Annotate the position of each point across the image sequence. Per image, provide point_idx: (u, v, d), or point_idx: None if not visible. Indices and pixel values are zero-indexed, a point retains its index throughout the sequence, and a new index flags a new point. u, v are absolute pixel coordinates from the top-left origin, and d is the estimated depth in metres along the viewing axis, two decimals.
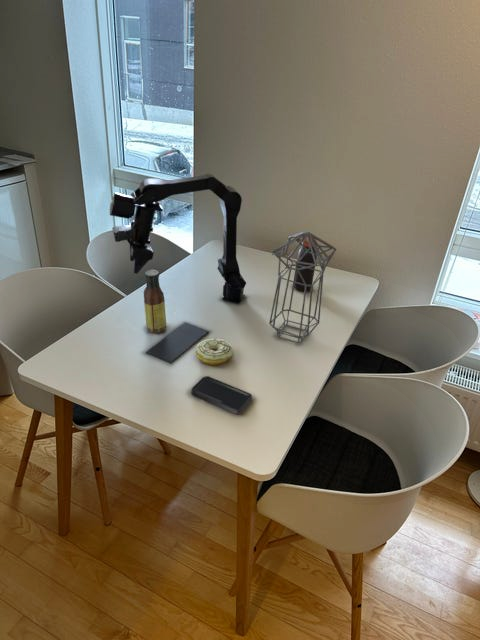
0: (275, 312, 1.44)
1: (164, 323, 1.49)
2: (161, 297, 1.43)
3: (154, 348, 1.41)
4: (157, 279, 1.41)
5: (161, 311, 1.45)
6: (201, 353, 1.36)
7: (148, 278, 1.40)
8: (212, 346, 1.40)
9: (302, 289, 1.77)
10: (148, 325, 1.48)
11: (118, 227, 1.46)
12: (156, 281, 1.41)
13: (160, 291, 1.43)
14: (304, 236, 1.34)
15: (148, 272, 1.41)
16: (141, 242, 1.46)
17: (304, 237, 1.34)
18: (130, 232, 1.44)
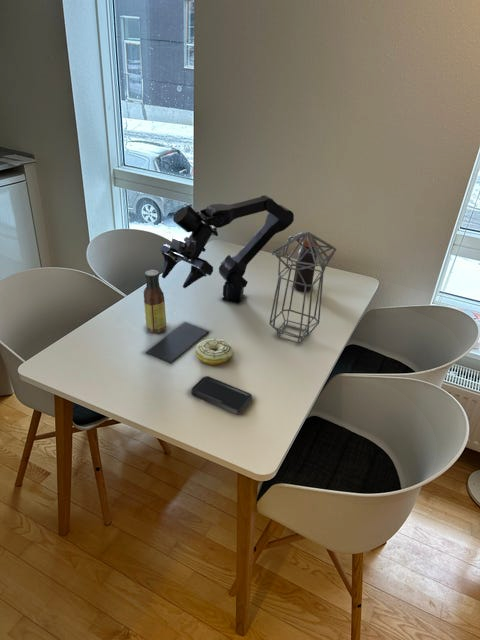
0: (275, 312, 1.44)
1: (164, 323, 1.49)
2: (161, 297, 1.43)
3: (154, 348, 1.41)
4: (157, 279, 1.41)
5: (161, 311, 1.45)
6: (201, 353, 1.36)
7: (148, 278, 1.40)
8: (212, 346, 1.40)
9: (302, 289, 1.77)
10: (148, 325, 1.48)
11: (178, 239, 1.45)
12: (156, 281, 1.41)
13: (160, 291, 1.43)
14: (304, 236, 1.34)
15: (148, 272, 1.41)
16: (195, 259, 1.49)
17: (304, 237, 1.34)
18: None
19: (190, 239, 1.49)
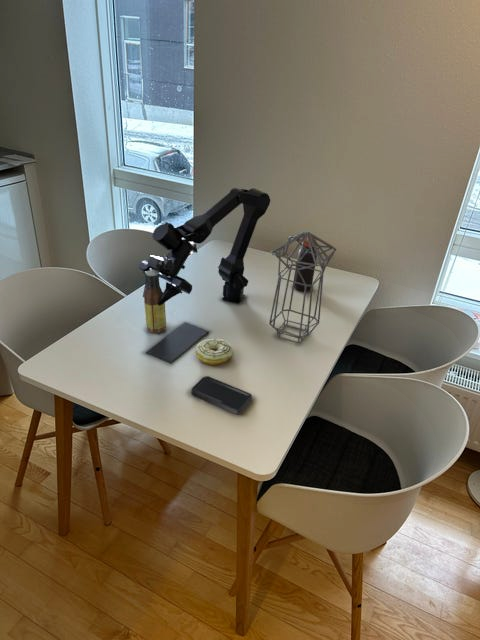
0: (275, 312, 1.44)
1: (164, 323, 1.49)
2: None
3: (154, 348, 1.41)
4: (157, 279, 1.41)
5: (161, 311, 1.45)
6: (201, 353, 1.36)
7: (148, 278, 1.40)
8: (212, 346, 1.40)
9: (302, 289, 1.77)
10: (148, 325, 1.48)
11: (155, 256, 1.41)
12: (156, 281, 1.41)
13: (160, 291, 1.43)
14: (304, 236, 1.34)
15: (148, 272, 1.40)
16: (174, 276, 1.44)
17: (304, 237, 1.34)
18: None
19: (169, 256, 1.44)
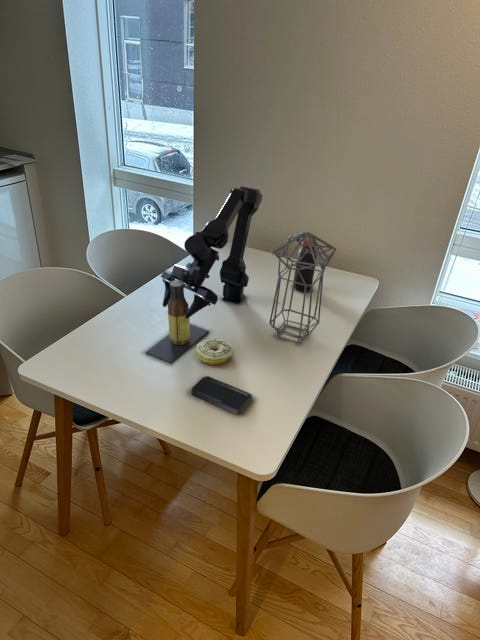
0: (275, 312, 1.44)
1: (188, 335, 1.43)
2: (186, 308, 1.38)
3: (154, 348, 1.41)
4: (182, 290, 1.36)
5: (185, 323, 1.40)
6: (201, 353, 1.36)
7: (173, 289, 1.34)
8: (212, 346, 1.40)
9: (302, 289, 1.77)
10: (172, 337, 1.42)
11: (180, 266, 1.35)
12: (181, 292, 1.35)
13: (185, 302, 1.38)
14: (304, 236, 1.34)
15: (173, 283, 1.35)
16: (198, 286, 1.38)
17: (304, 237, 1.34)
18: None
19: (193, 265, 1.38)
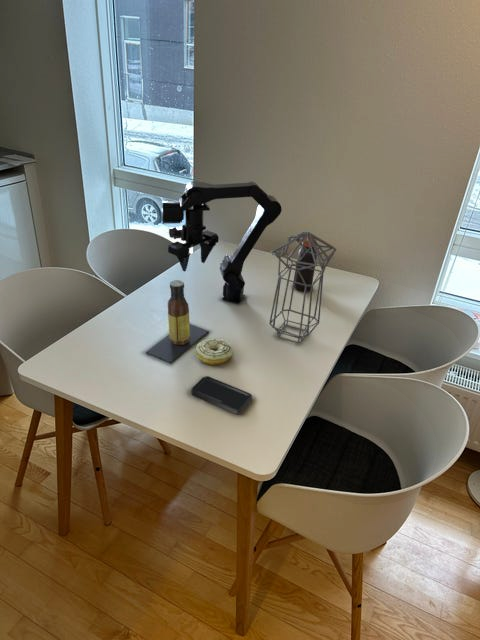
0: (275, 312, 1.44)
1: (188, 335, 1.43)
2: (186, 308, 1.38)
3: (154, 348, 1.41)
4: (182, 290, 1.36)
5: (185, 323, 1.40)
6: (201, 353, 1.36)
7: (173, 289, 1.34)
8: (212, 346, 1.40)
9: (302, 289, 1.77)
10: (172, 337, 1.42)
11: (181, 227, 1.59)
12: (181, 292, 1.35)
13: (185, 302, 1.38)
14: (304, 236, 1.34)
15: (173, 283, 1.35)
16: (188, 242, 1.54)
17: (304, 237, 1.34)
18: (181, 231, 1.55)
19: None
